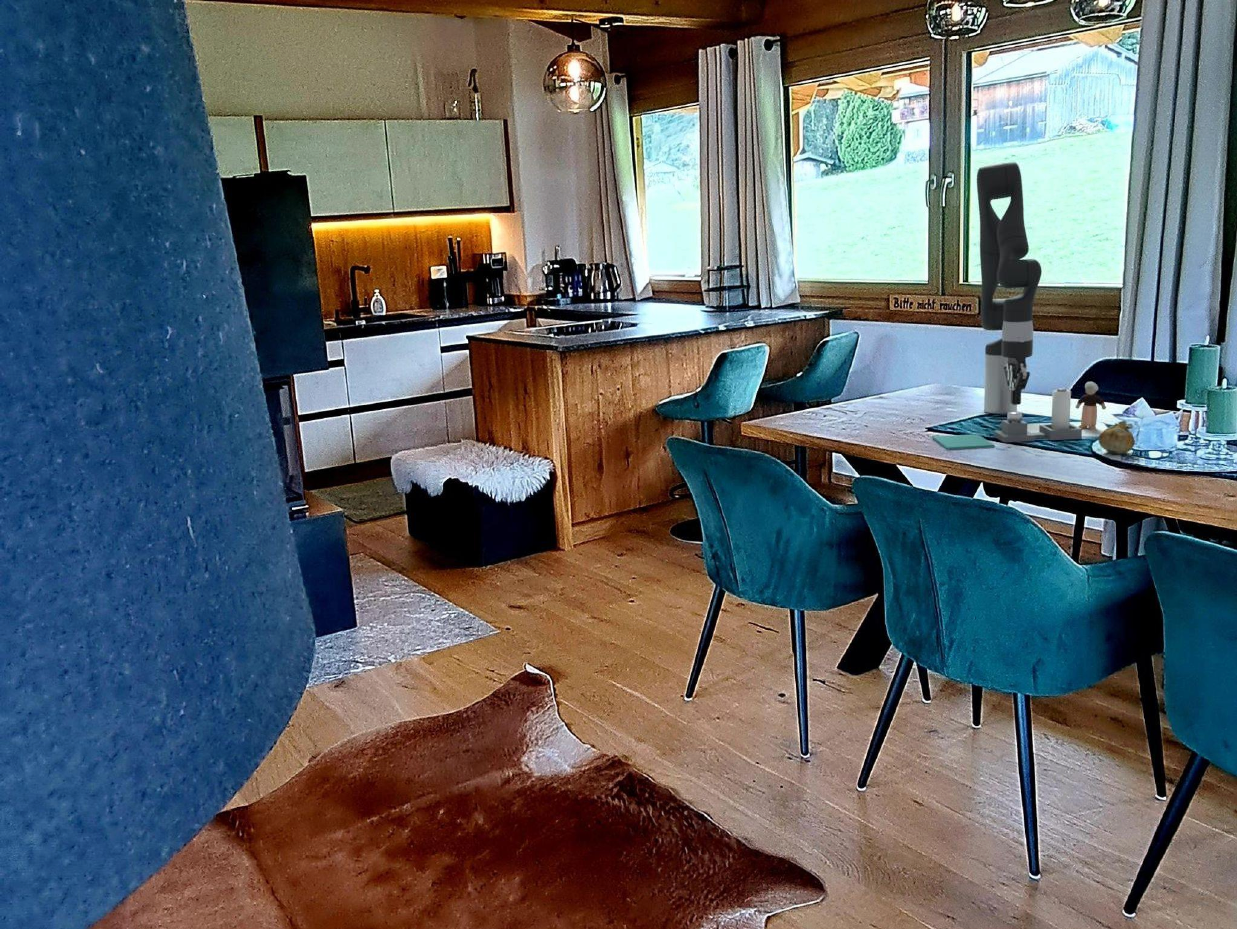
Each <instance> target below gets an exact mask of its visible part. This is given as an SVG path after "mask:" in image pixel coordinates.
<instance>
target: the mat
mask: <svg viewBox="0 0 1237 929" xmlns="http://www.w3.org/2000/svg"><path fill="white" fill-rule="evenodd" d="M932 440H933V441H935V442H937V443H938V444H939V445H940V446H941V447H943V448H944V449H945V450H948V451H949V450H951V451H953V450H966V449H967V450H969V449H971V450H972V449H986V448H995V446H996V445H995V444H994V443H992V442H991V441H989V440H988V439H986V438H984V437H983V436H981V435H980V434H977V433H976V434H958V435H957V434H956V435H937V436H935V435H934V436H932Z"/></svg>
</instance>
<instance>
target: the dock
mask: <svg viewBox="0 0 1237 929" xmlns="http://www.w3.org/2000/svg"><path fill="white" fill-rule="evenodd" d="M1082 435H1083V428H1079V426H1076V425H1075V424H1072V423H1070V427H1069V429H1060V430H1052V429H1051V423H1049V424H1048V423H1047V424H1046V423H1045V424H1039V426H1038V432H1030V431H1028V422H1026V421H1025V420H1023V419H1022V421H1018V423H1011V421H1007V419H1006V420H1005V419H1004V420H1003V419H1002V420H1001V430H993V437H994V438H995V439H997V440H999V441H1001V442H1002V443H1021V442H1023V443H1024V442H1035V441H1036V439H1037V440H1038V439H1039V440H1040V439H1047V440H1049V441H1056V440H1057V441H1058V440H1059V441H1060V440H1061V441H1062V440H1074V439H1075V440H1076V439H1082V438H1083V437H1082Z"/></svg>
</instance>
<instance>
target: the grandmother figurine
mask: <svg viewBox="0 0 1237 929" xmlns="http://www.w3.org/2000/svg"><path fill="white" fill-rule="evenodd" d="M1084 388H1085V393H1086V394H1083V395H1082V396H1081V397H1080V398H1079V399H1078V400H1077V402H1076V405H1075V409H1080V407H1081V405H1082V404H1083V405H1082V411H1081V418H1080V424H1079V425H1078V427H1079V428H1081V429H1088V430H1096V429H1097V427H1096V425H1097V420H1098V407H1097V405H1099V406H1100V407H1101V409H1102V410H1106V409H1107V406H1106V404H1105V401H1104V399H1103V398H1101V397H1100V396H1099V395H1096V392H1097V391H1098V390H1099V386H1098V384H1096V382H1093V381H1087V382H1086V383H1085V385H1084Z"/></svg>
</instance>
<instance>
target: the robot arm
mask: <svg viewBox="0 0 1237 929" xmlns="http://www.w3.org/2000/svg"><path fill="white" fill-rule="evenodd" d="M1021 173H1022V172H1021V169H1020V166H1019V164H1018V163H1017V162H1016V161H1006V162H999V163H992V164H987V165H983V166H980V167H979V168H978V170H977V173H976V190H977V191H976V192H977V202H978V212H979V257H980V258H979V259H980V260H979V261H980V273H981V275H980V276H981V278H980V279H981V295H980V297H981V299H980V322H981V327H982V329H984V331H993V332H995V331H997V332H998V331H1001V338H1000V339H998V340H994V341H991V342H988V343H987V344H986V345H985V351H984V352H985V354H984V396H983V398H984V402H983V403H984V404H983V411H984V412H986V413H990V414H1007V413H1008V412H1018V406H1019V405H1021V403H1022V391H1023V390H1025V389H1026V388H1027V387H1026V386H1027V384H1028V381H1029V378H1030V376H1031V373H1030V371H1027V369H1028V365H1027V362H1026V361H1027V360H1026V359H1027V358H1029V357H1032V356H1033V352H1034V351H1033V350H1034V346H1033V345H1034V325H1033V316H1034V314H1033V313H1034V312H1033V311H1034V302H1035V297H1036V292H1037V290H1038V286H1039V283H1040V280H1041V277H1042V266H1041V263H1040V262H1039V261H1038V260H1036V259H1035V258H1028V259H1027V258H1025V257H1026V256H1027V255H1028V254H1029V250H1030V247H1029V246H1030V245H1029V242H1028V237H1027V231H1026V227H1025V218H1024V217H1025V215H1024V212H1025V210H1024V192H1023V190H1024V189H1023V180H1022V174H1021ZM1006 198H1010V202H1009V204H1008V207H1007V208H1006V210H1005V212H1004V214H1003V216H1002V217H1001V219H1000V217H999V216H998V215H997V213H996V212H995V209H994V208H993V206H992V203H991V202H992V201H993V200H1001V199H1006ZM1023 258H1024V259H1023ZM999 285H1000V286H1001V287H1002V288H1004V289H1016V288H1024V289H1023V290H1022V292H1020V293H1019V294H1018V295H1015V296H1011V297H1008V298H993V297H994V294H995V292H996V290H997V288H998V286H999Z"/></svg>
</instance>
